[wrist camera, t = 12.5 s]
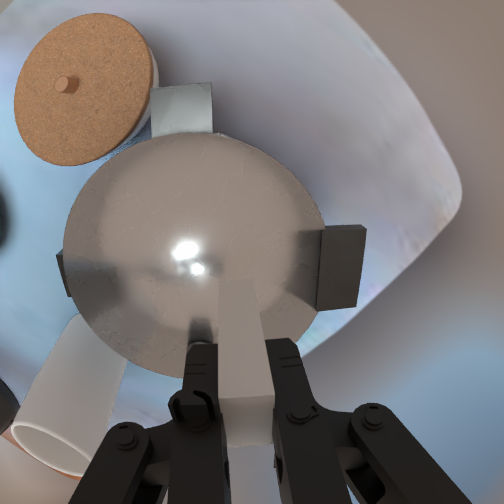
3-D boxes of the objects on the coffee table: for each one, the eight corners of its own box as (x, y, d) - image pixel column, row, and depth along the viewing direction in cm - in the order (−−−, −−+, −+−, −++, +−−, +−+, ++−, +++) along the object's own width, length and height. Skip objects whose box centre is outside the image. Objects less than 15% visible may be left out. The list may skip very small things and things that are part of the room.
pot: (130, 318, 30) (103, 390, 21) (98, 115, 22) (33, 114, 13) (284, 311, 31) (308, 384, 22) (286, 99, 23) (326, 82, 14)
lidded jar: (99, 178, 24) (47, 205, 16) (44, 93, 20) (-19, 90, 12) (195, 104, 23) (180, 91, 14) (132, 18, 19) (95, -24, 10)
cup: (123, 314, 30) (75, 437, 15) (136, 369, 33) (109, 484, 19) (59, 309, 29) (-6, 413, 15) (77, 362, 32) (35, 464, 18)
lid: (105, 368, 20) (100, 383, 18) (50, 153, 14) (36, 157, 12) (338, 356, 21) (345, 371, 20) (362, 132, 15) (376, 133, 13)
